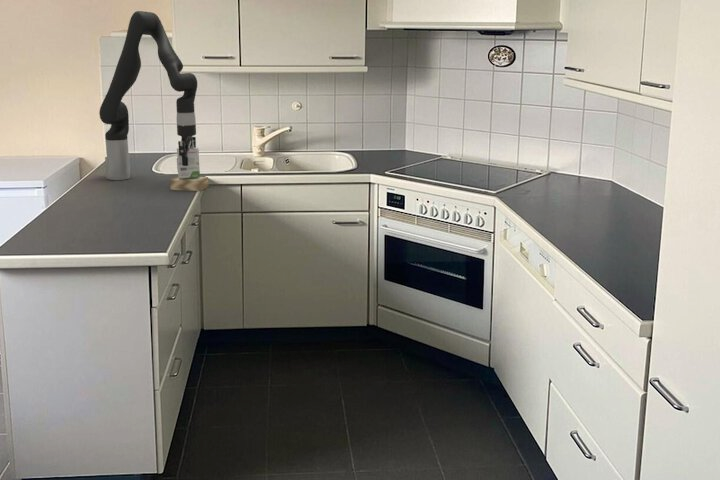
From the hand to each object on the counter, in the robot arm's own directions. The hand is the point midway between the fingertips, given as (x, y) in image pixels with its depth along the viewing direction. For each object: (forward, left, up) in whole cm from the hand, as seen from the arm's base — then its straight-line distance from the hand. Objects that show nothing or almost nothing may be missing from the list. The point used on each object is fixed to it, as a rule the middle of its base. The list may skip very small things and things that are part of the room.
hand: (188, 164), depth 350 cm
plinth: (0, 0, -10) cm, 10 cm away
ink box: (0, 0, -5) cm, 5 cm away
